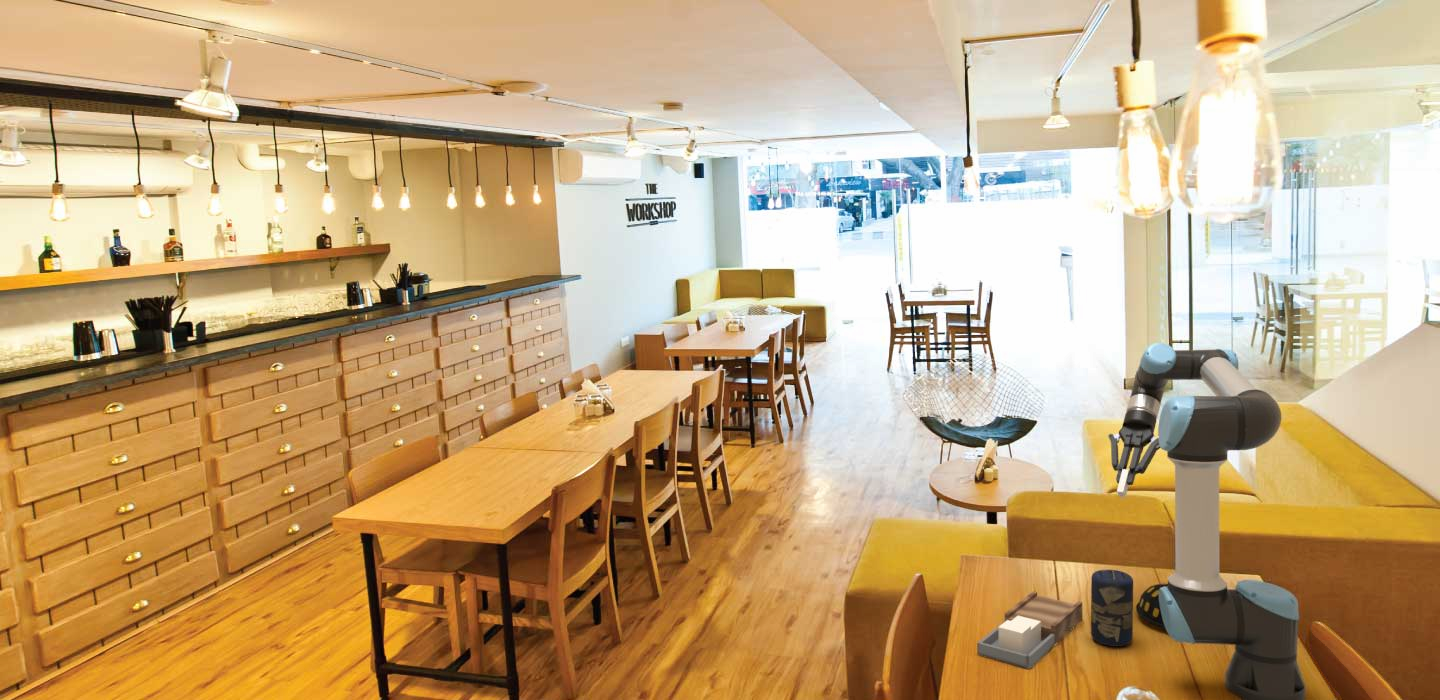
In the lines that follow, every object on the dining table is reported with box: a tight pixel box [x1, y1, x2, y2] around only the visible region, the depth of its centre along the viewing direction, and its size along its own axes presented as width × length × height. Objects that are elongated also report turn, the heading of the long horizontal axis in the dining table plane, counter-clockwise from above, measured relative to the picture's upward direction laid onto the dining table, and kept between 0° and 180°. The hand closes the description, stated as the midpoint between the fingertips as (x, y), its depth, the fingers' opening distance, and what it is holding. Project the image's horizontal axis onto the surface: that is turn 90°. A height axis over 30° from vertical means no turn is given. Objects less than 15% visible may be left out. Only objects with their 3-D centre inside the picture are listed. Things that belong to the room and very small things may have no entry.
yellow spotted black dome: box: [1135, 582, 1168, 630], centre depth 239 cm, size 16×9×20 cm
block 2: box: [1012, 616, 1041, 649], centre depth 230 cm, size 6×6×5 cm
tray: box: [976, 621, 1056, 670], centre depth 228 cm, size 15×13×3 cm
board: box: [1004, 590, 1083, 645], centre depth 240 cm, size 18×13×5 cm
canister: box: [1090, 569, 1134, 647], centre depth 229 cm, size 10×10×18 cm
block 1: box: [997, 620, 1031, 655], centre depth 226 cm, size 6×6×5 cm
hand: (1121, 494), depth 231 cm, fingers closed
